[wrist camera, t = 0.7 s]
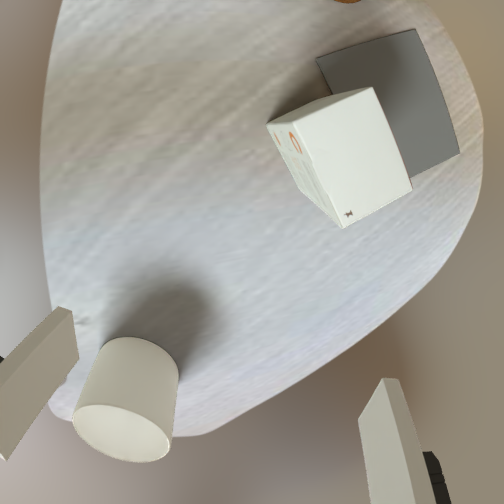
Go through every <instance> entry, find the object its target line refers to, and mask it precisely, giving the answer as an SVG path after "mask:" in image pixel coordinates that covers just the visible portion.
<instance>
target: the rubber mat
mask: <svg viewBox="0 0 504 504" xmlns="http://www.w3.org/2000/svg"><path fill="white" fill-rule="evenodd" d="M316 61H317V63H318V65H319V67H320V69H321V71H322V73H323V75H324V77H325V79H326V82H327V84H328V86H329V88H330V90H331V92H332V94H333V95H335V94H339V93H344V92H348V91H352V90H357V89H361V88H366V87H373V89H374V91H375V93H376V95H377V97H378V99H379V102H380V104H381V106H382V109H383V111H384V113H385V115H386V118H387V120H388V122H389V125H390V127H391V130H392V132H393V135H394V137H395V140H396V142H397V145H398V148H399V150H400V153H401V155H402V158H403V161H404V164H405V167H406V169H407V172H408V175H409V178H411V177H413V176H415V175H417V174H419V173H421V172H423V171H425V170H427V169H429V168H431V167H433V166H435V165H437V164H439V163H441V162H443V161H445V160H447V159H449V158H451V157H453V156H455V155H458V154H460V151H459V148H458V144H457V140H456V137H455V133H454V130H453V126H452V123H451V120H450V116H449V113H448V110H447V107H446V104H445V101H444V98H443V95H442V92H441V90H440V87H439V84H438V81H437V79H436V76H435V74H434V71H433V69H432V66H431V64H430V61H429V59H428V56H427V54H426V52H425V49H424V47H423V45H422V43H421V41H420V38H419V36H418V34H417V32H416V30H411V31H407V32H402V33H398V34H394V35H391V36H387V37H383V38H379V39H376V40H372V41H369V42H365V43H362V44H359V45H356V46H352V47H349V48H346V49H343V50H340V51H337V52H334V53H331V54H328V55H325V56H322V57H320V58H317V59H316Z"/></svg>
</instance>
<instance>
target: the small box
mask: <svg viewBox="0 0 504 504" xmlns="http://www.w3.org/2000/svg"><path fill="white" fill-rule="evenodd" d="M266 127H267V129H268V130H269V132H270V134H271V136H272V138H273V140H274V142H275V144H276V146H277V148H278V149H279V151H280V153H281V155H282V157H283V159H284V161H285V163H286V165H287V167H288V169H289V170H290V172H291V174H292V176H293V178H294V180H295V182H296V184H297V186H298V188H299V190H300V191H301V192H302V193H303V194H305V195H306V196H307V197H308V198H309V199H310V200H312V201H313V202H314V203H315V204H316V205H317V206H318V207H319V208H320V209H321V210H322V211H323V212H324V213H326V214H327V215H328V216H329V217H330V218H331V219H332V220H333V221H334V222H335V223H336V224H338V225H339V226H340V227H341V228H342V229H344V228H346V227H347V226H349V225H351V224H353V223H354V222H356V221H358V220H360V219H362V218H363V217H365V216H367V215H369V214H371V213H373V212H374V211H376V210H378V209H380V208H382V207H383V206H385V205H387V204H389V203H390V202H392V201H394V200H396V199H398V198H400V197H401V196H403V195H405V194H406V193H408V192H410V191H412V190H413V187H412V184H411V181H410V178H409V175H408V172H407V169H406V167H405V164H404V161H403V158H402V155H401V153H400V150H399V148H398V145H397V142H396V140H395V137H394V135H393V132H392V130H391V127H390V125H389V122H388V120H387V118H386V115H385V113H384V111H383V109H382V106H381V104H380V102H379V99H378V97H377V95H376V93H375V91H374V89H373V87H366V88H361V89H357V90H352V91H348V92H344V93H339V94H335V95H331V96H327V97H324V98H320V99H317V100H315V101H312V102H310V103H308V104H306V105H304V106H302V107H299V108H297V109H295V110H293V111H291V112H289V113H287V114H285V115H283V116H281V117H278V118H276V119H274V120H272V121H270V122H268V123H267V124H266Z"/></svg>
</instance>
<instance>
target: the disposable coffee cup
mask: <svg viewBox="0 0 504 504" xmlns="http://www.w3.org/2000/svg"><path fill="white" fill-rule="evenodd" d="M335 1H338V2H342V3H355V2H358V1H360V0H335Z"/></svg>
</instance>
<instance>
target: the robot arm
mask: <svg viewBox="0 0 504 504" xmlns="http://www.w3.org/2000/svg"><path fill="white" fill-rule="evenodd" d="M78 360H79V353H78V348H77V342H76V336H75V329H74V323H73V315H72V311H70V310H68V309H65V308H62V307H59V306H58V307H57V308H56V309H55V310H54V311H53V312H52V313H51V314H50V315H48V316H47V317H46V318H45V319H44V320H43V321H42V322H41V323H40V324H39V325H38V326H37V327H36V328H35V329H34V330H33V331H32V332H31V333H30V334H29V335H28V336H27V337H26V338H25V339H24V340H23V341H22V342H21V343H20V344H19V345H18V346H17V347H16V348H15V349H14V350H13V351H12V352H11V353H10V354H9V355H8V356H7V357H6V358H5V359H4V358H2V357H1V356H0V457H1V458H2V459H4V460H5V461H7V460H8V458H9V457H10V455H11V454H12V452H13V451H14V449H15V448H16V446H17V445H18V443H19V442H20V440H21V439H22V437H23V436H24V434H25V433H26V431H27V430H28V429H29V427H30V426H31V424H32V423H33V421H34V420H35V419H36V417H37V416H38V414H39V413H40V411H41V410H42V409H43V407H44V406H45V404H46V403H47V402H48V400H49V399H50V398H51V396H52V395H53V393H54V392H55V391H56V389H57V388H58V387H59V385H60V384H61V383H62V381H63V380H64V379H65V377H66V376H67V375H68V373H69V372H70V371H71V369H72V368H73V367H74V365H75V364H76V363H77V361H78ZM358 423H359V429H360V434H361V441H362V447H363V453H364V459H365V465H366V472H367V479H368V486H369V494H370V501H371V504H451V501H450V497H449V493H448V490H447V486H446V484H445V479H444V476H443V475H442V469H441V466H440V463H439V461H438V459H437V458H436V457H435V455H434V454H433V453H432V451H431V452H422V450H421V446H420V443H419V440H418V437H417V433H416V430H415V427H414V424H413V421H412V418H411V415H410V412H409V409H408V406H407V403H406V400H405V397H404V394H403V391H402V388H401V386H400V383H399V380H398V379H391V378H382V380H381V381H380V383H379V385H378V387H377V388H376V390H375V392H374V394H373V395H372V397H371V399H370V400H369V402H368V404H367V405H366V407H365V409H364V411H363V412H362V414H361V415H360V417H359V419H358Z"/></svg>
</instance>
